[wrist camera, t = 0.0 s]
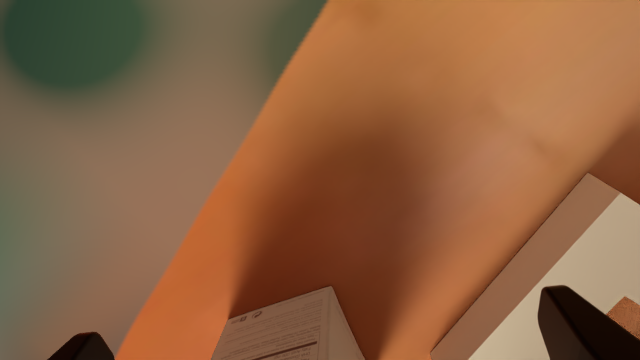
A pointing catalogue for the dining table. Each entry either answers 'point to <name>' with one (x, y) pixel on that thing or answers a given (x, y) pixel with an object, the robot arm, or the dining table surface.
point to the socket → (554, 275)
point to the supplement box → (291, 331)
